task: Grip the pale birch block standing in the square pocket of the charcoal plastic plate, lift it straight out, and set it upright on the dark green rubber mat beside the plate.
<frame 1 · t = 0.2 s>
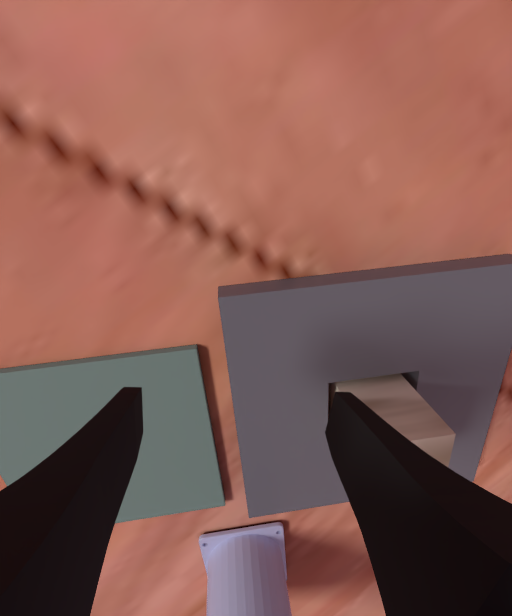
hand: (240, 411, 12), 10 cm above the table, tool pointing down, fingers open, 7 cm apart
rubber mat: (109, 446, 24), on the table
birch block: (381, 422, 21), in the pocket plate
pocket plate: (360, 391, 25), on the table
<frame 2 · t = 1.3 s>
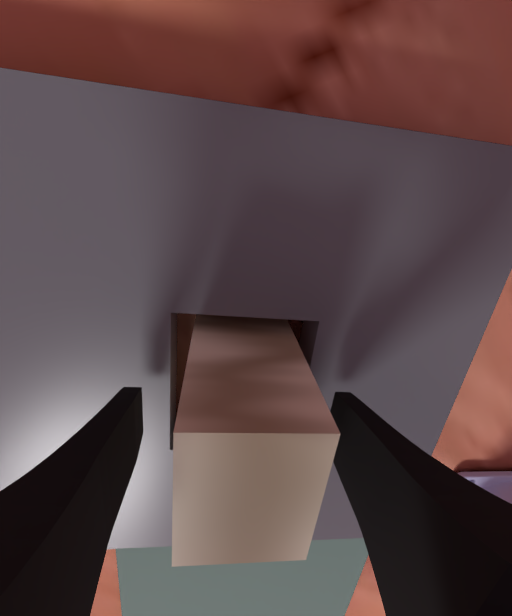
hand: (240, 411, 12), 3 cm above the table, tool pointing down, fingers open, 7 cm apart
rubber mat: (240, 601, 22), on the table
birch block: (241, 414, 11), in the pocket plate
pocket plate: (237, 363, 15), on the table
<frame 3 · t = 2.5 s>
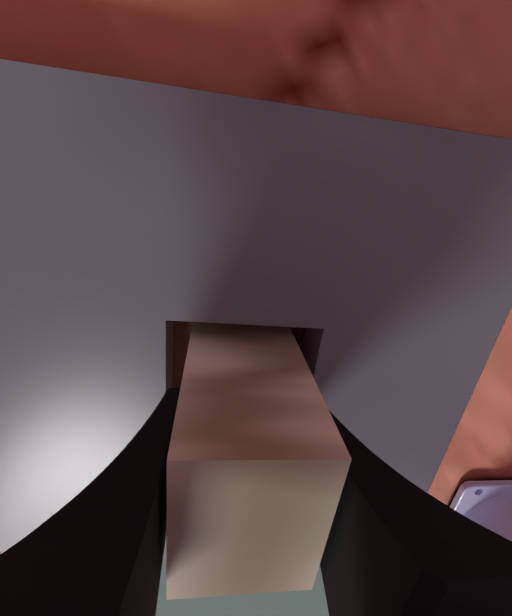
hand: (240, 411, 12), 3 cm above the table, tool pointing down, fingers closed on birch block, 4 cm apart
rubber mat: (240, 612, 22), on the table
birch block: (241, 428, 11), in the pocket plate, touching gripper
pocket plate: (236, 371, 14), on the table
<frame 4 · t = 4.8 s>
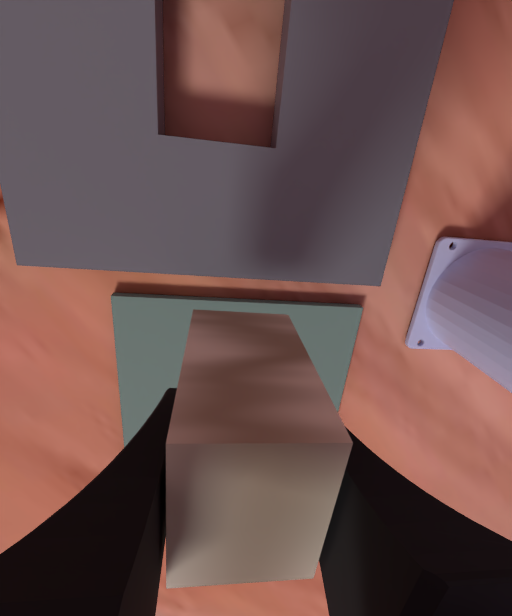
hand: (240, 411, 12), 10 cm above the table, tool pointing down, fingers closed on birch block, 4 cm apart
rubber mat: (235, 398, 23), on the table
birch block: (241, 418, 11), point 10 cm above the table, touching gripper
pocket plate: (221, 71, 15), on the table
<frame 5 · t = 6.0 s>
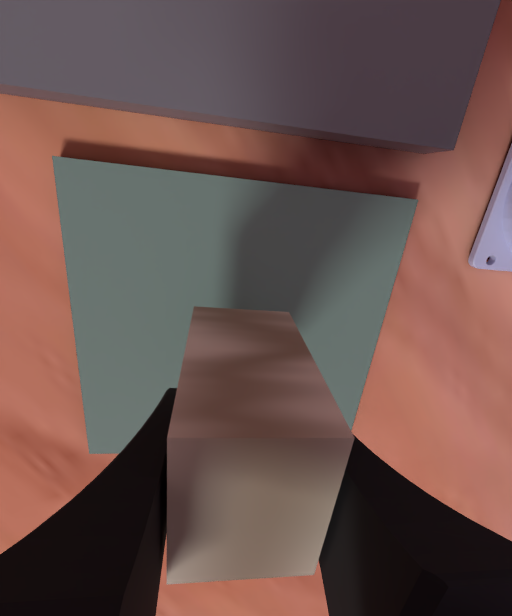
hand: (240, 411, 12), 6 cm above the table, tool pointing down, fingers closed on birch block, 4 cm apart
rubber mat: (234, 335, 17), on the table
birch block: (242, 415, 11), point 7 cm above the table, touching gripper
when the fingers open (4 cm above the table, at t = 7.1 s): birch block stays where it is, resting on rubber mat.
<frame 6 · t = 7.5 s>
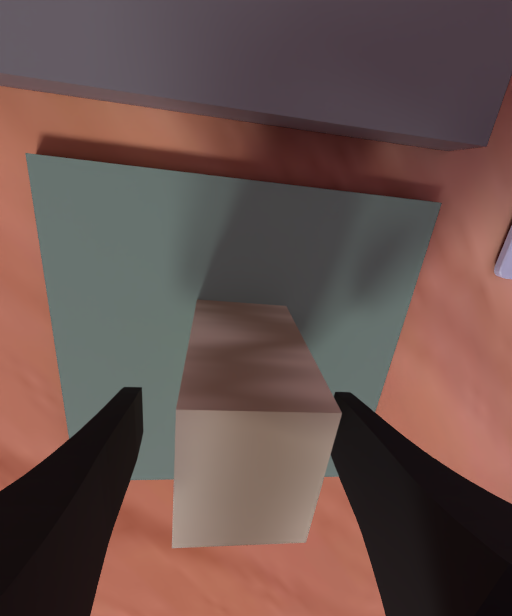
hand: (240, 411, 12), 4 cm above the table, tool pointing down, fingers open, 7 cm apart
rubber mat: (235, 352, 15), on the table
birch block: (241, 399, 11), on the rubber mat, point 4 cm above the table
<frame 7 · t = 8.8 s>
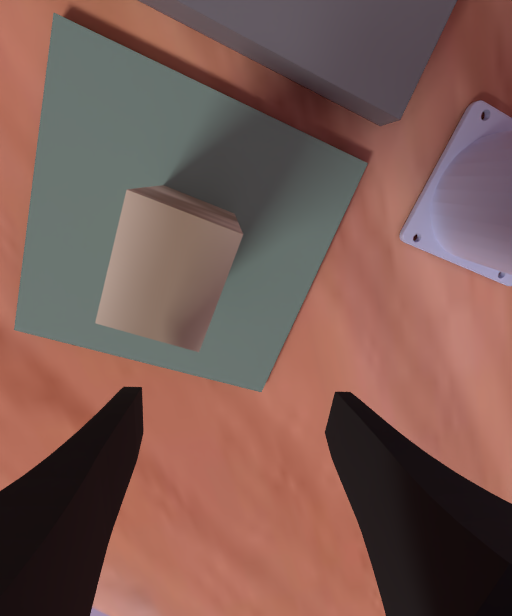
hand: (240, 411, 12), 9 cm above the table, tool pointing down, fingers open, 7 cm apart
rubber mat: (184, 247, 18), on the table
birch block: (178, 257, 14), on the rubber mat, point 4 cm above the table
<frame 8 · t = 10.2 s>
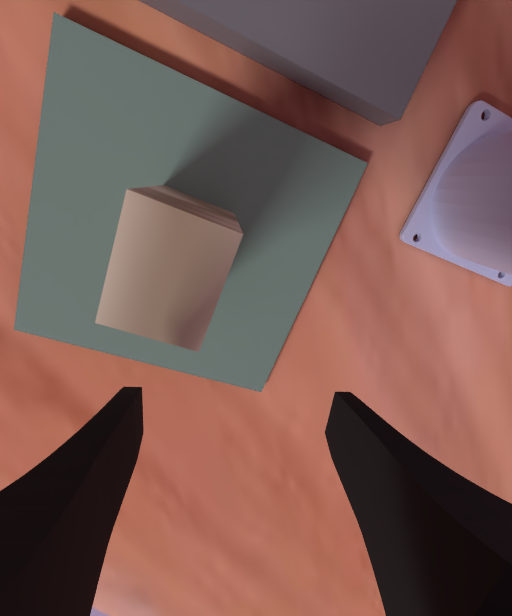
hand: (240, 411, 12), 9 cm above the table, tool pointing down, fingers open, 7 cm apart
rubber mat: (184, 247, 18), on the table
birch block: (178, 257, 14), on the rubber mat, point 4 cm above the table
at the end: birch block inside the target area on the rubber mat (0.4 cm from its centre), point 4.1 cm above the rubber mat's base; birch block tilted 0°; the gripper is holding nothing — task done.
